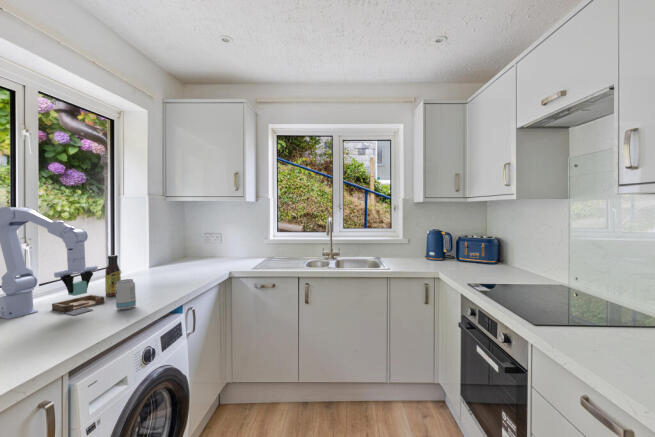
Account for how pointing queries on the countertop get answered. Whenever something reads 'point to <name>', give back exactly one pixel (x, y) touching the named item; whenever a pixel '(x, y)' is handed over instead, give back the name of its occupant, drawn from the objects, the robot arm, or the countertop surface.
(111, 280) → the sauce bottle
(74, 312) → the rubber mat
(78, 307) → the parts box
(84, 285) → the teal block
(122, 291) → the beverage can
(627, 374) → the countertop surface
